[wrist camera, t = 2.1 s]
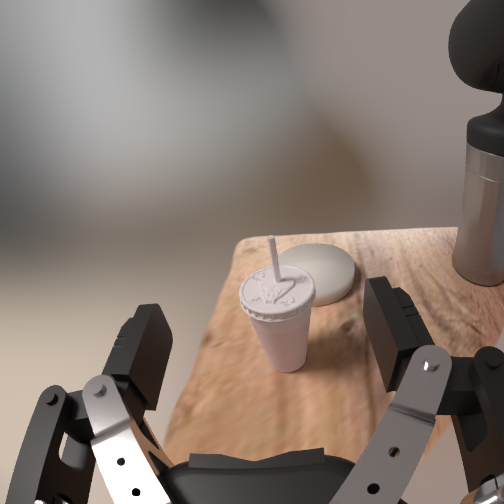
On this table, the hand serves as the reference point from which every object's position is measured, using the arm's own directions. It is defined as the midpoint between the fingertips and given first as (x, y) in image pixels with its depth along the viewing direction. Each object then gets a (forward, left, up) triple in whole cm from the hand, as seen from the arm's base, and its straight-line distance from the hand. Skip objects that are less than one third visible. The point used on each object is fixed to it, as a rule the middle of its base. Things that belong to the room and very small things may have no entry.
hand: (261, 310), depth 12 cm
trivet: (-20, -14, -18) cm, 30 cm away
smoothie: (-8, -8, -18) cm, 21 cm away
